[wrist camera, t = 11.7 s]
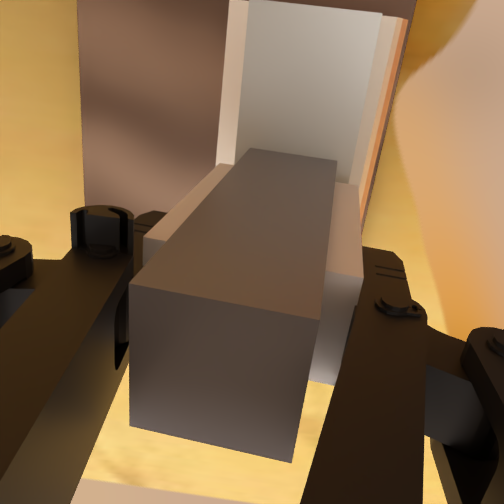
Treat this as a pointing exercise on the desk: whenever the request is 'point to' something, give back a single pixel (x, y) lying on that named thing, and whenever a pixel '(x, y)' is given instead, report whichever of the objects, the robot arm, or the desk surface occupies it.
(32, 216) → the desk surface
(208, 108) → the board
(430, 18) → the desk surface
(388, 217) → the desk surface
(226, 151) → the tile
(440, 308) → the desk surface
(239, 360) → the paddle
